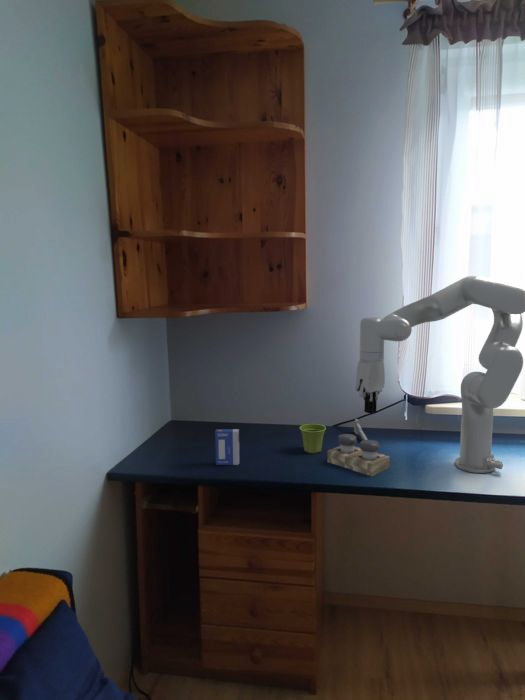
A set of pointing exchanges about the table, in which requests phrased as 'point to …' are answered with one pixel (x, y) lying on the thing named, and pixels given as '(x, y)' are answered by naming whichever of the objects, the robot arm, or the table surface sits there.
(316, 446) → the plant pot
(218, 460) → the blue upright box
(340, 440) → the knob far
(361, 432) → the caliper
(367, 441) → the knob near
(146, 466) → the table surface
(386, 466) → the mount
